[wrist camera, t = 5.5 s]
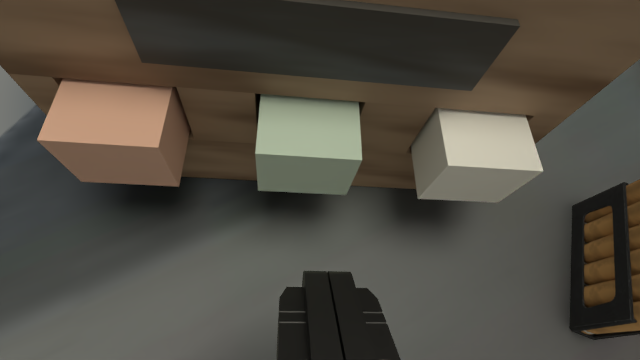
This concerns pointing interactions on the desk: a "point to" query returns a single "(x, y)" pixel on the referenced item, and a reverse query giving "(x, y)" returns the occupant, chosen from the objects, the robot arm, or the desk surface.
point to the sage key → (307, 144)
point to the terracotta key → (118, 132)
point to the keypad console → (327, 63)
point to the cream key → (473, 155)
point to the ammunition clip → (606, 264)
